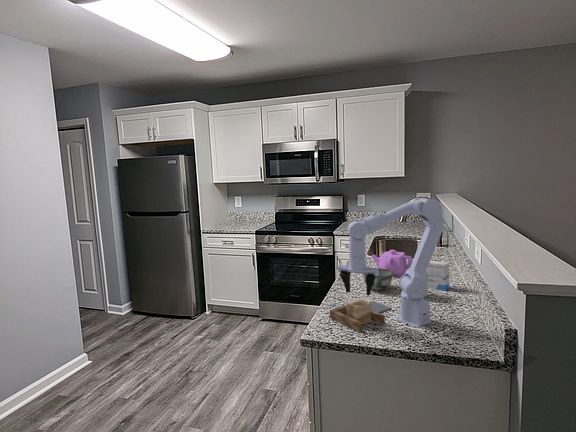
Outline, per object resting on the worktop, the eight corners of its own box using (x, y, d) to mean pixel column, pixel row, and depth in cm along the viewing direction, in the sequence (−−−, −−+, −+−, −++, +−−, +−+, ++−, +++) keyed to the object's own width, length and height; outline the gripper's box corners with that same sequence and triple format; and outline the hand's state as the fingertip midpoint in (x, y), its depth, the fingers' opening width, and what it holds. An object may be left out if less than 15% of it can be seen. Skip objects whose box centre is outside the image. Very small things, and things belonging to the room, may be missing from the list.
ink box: (449, 288, 160) (449, 262, 159) (445, 291, 156) (445, 265, 155) (430, 285, 166) (430, 260, 165) (425, 287, 162) (425, 262, 161)
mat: (391, 309, 139) (391, 307, 139) (372, 315, 134) (372, 314, 134) (372, 302, 148) (372, 300, 147) (354, 307, 142) (354, 306, 142)
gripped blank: (371, 321, 128) (370, 302, 128) (356, 326, 125) (356, 307, 124) (361, 317, 133) (360, 299, 132) (346, 322, 129) (346, 303, 128)
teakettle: (387, 279, 177) (387, 255, 176) (370, 271, 194) (370, 248, 192) (417, 275, 182) (417, 251, 181) (398, 267, 198) (397, 245, 197)
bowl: (398, 288, 164) (398, 270, 163) (384, 296, 154) (384, 278, 153) (371, 282, 173) (371, 266, 172) (357, 290, 163) (356, 273, 162)
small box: (414, 292, 157) (414, 268, 156) (427, 294, 154) (427, 270, 152) (407, 297, 151) (407, 273, 150) (421, 300, 148) (421, 275, 146)
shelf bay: (384, 323, 126) (384, 315, 126) (359, 332, 120) (359, 323, 120) (354, 310, 139) (353, 303, 139) (330, 318, 133) (329, 310, 133)
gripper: (381, 254, 126) (381, 292, 128) (342, 251, 134) (343, 287, 135) (374, 259, 120) (375, 298, 122) (335, 255, 128) (336, 292, 129)
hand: (358, 293), depth 128 cm, fingers open, 7 cm apart
